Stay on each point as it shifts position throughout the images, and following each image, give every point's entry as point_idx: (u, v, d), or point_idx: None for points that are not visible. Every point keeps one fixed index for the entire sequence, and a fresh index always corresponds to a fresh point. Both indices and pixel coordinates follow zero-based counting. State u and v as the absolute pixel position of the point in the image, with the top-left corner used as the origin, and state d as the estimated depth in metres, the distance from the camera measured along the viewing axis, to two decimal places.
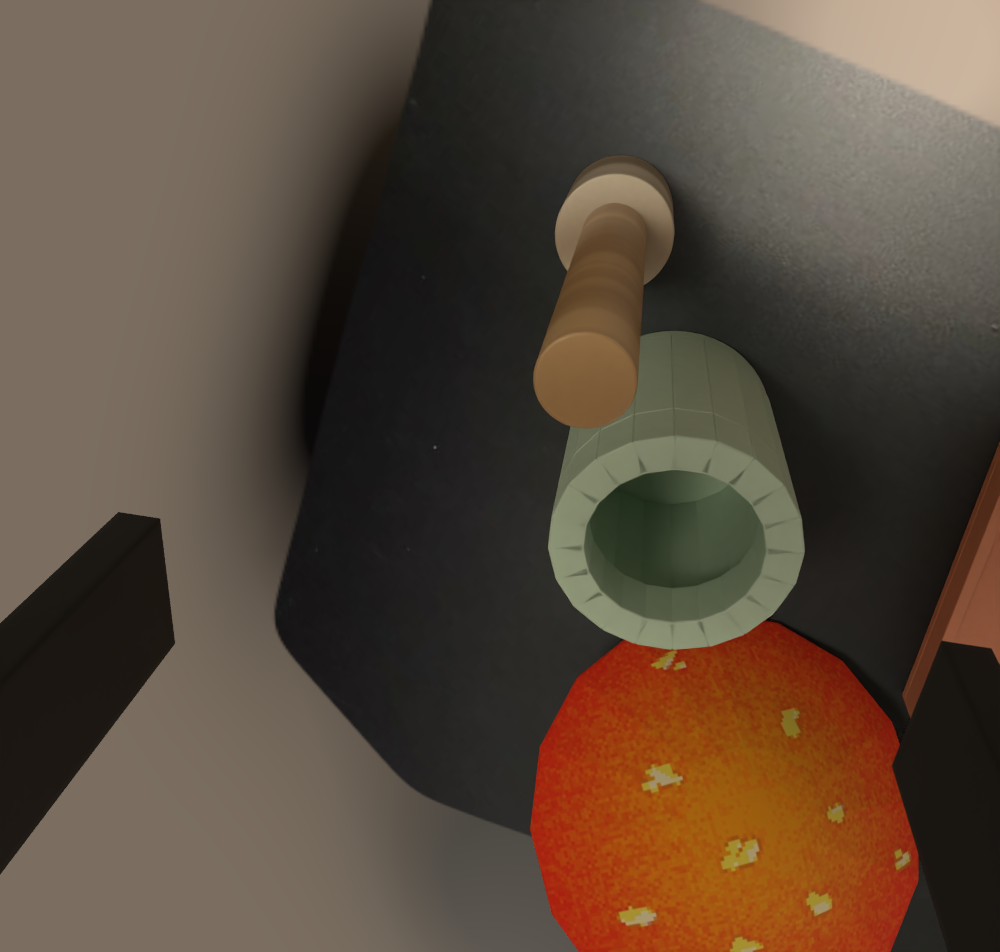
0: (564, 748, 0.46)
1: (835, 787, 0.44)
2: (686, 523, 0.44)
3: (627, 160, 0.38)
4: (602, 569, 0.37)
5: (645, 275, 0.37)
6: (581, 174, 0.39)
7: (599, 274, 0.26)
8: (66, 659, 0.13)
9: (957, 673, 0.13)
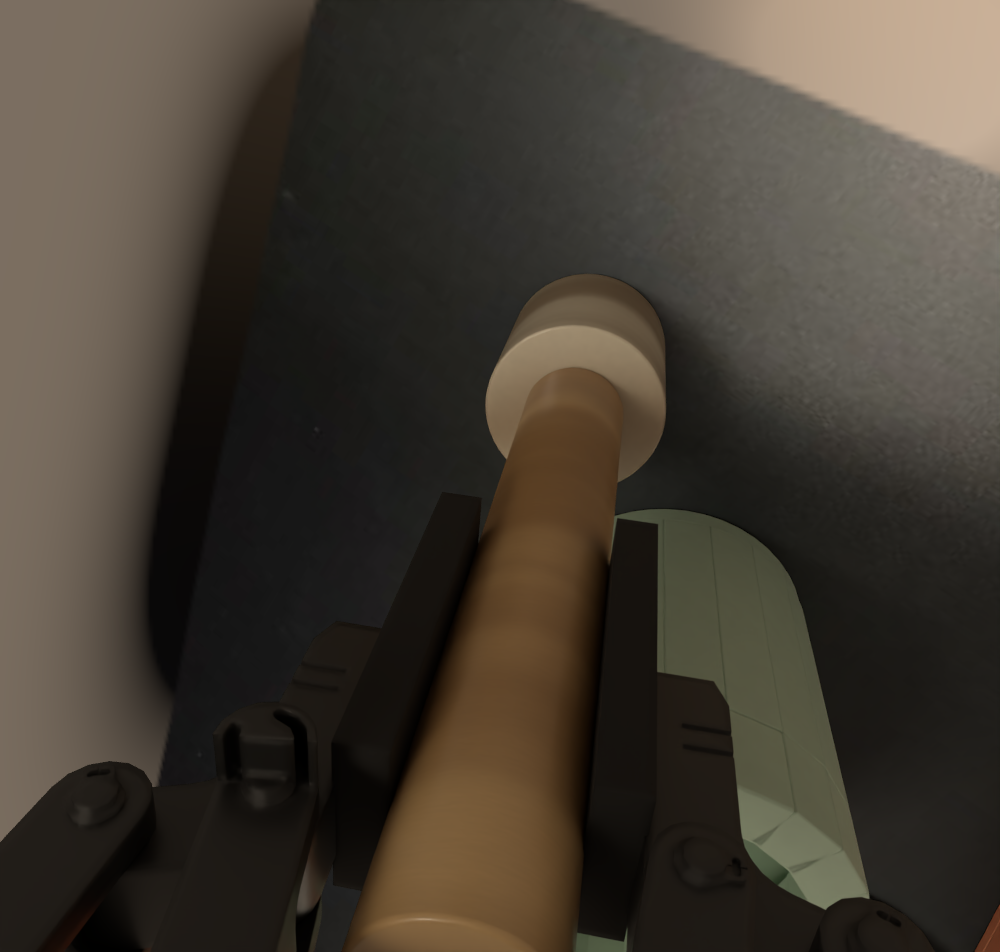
0: None
1: None
2: None
3: (597, 287, 0.26)
4: None
5: (622, 468, 0.24)
6: (530, 304, 0.27)
7: (518, 614, 0.14)
8: (446, 621, 0.14)
9: (617, 540, 0.16)
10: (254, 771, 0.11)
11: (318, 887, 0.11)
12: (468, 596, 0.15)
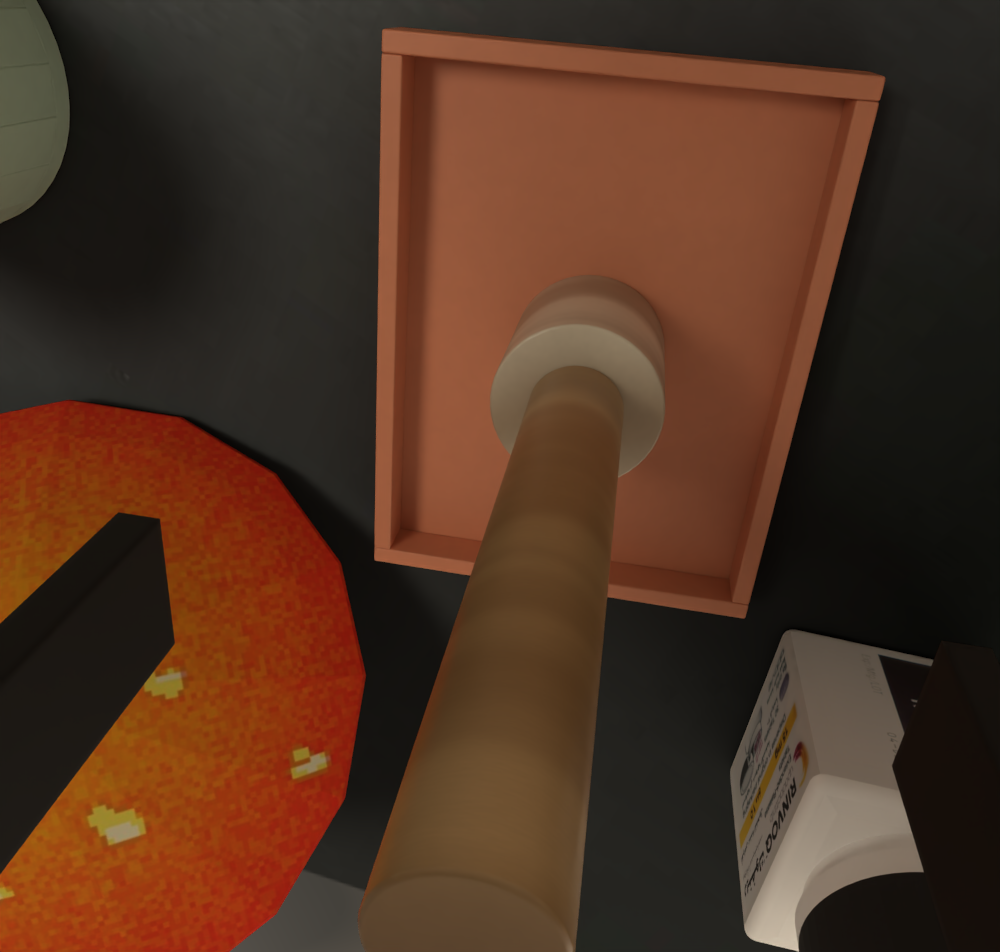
0: None
1: (176, 644, 0.28)
2: None
3: (598, 288, 0.26)
4: None
5: (623, 464, 0.25)
6: (533, 304, 0.27)
7: (523, 596, 0.14)
8: (66, 659, 0.13)
9: (957, 673, 0.13)
10: None
11: None
12: (475, 581, 0.16)
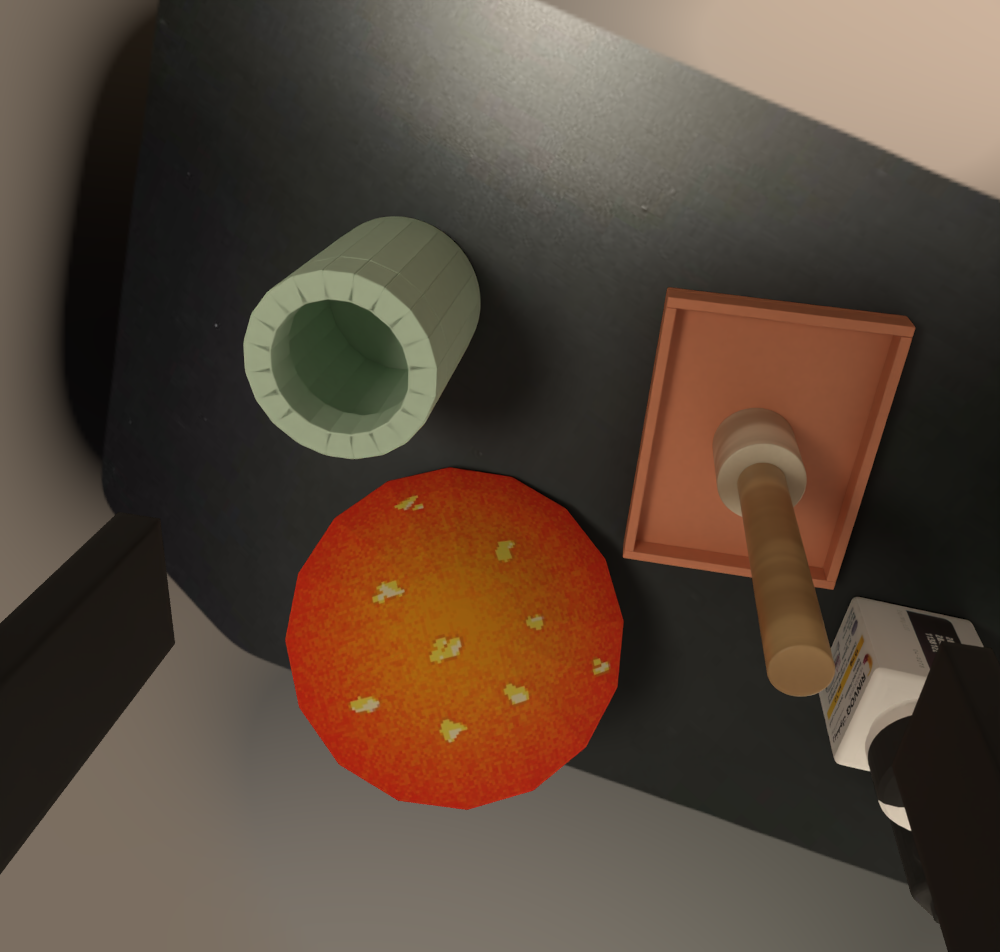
0: (316, 573, 0.54)
1: (537, 601, 0.53)
2: None
3: (765, 417, 0.52)
4: (300, 395, 0.46)
5: None
6: (729, 424, 0.52)
7: (789, 570, 0.40)
8: (66, 659, 0.13)
9: (957, 673, 0.13)
10: None
11: None
12: (763, 565, 0.41)
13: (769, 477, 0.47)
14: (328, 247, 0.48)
